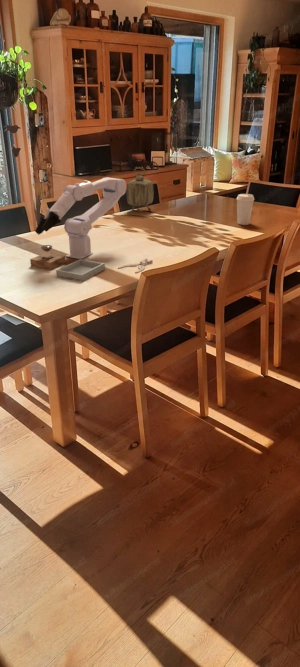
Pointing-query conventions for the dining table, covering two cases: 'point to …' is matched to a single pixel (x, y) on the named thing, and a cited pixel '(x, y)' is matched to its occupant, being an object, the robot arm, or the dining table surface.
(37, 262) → the brown square frame
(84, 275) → the tray
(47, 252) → the pin
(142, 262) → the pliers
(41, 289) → the dining table surface
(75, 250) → the robot arm
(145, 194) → the tabletop clock
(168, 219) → the dining table surface
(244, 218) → the coffee cup
